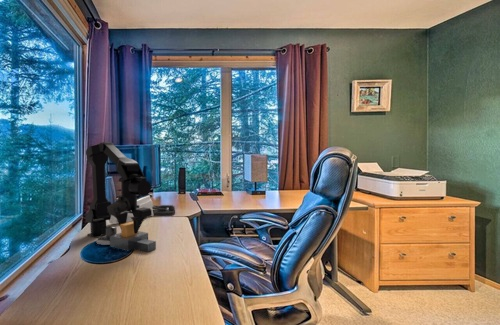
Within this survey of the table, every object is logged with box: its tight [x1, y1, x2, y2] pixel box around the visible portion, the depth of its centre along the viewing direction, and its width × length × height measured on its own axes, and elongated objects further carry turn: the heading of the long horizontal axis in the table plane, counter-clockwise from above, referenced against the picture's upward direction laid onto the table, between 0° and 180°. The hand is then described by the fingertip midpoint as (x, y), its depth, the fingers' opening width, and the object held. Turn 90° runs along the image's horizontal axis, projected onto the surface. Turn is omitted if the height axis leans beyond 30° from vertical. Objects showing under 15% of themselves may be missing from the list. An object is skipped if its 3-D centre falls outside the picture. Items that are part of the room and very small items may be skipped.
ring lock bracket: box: [95, 225, 157, 253], centre depth 114 cm, size 28×11×6 cm, turn 64°
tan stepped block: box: [119, 220, 137, 237], centre depth 113 cm, size 3×6×9 cm, turn 154°
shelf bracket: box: [108, 194, 155, 225], centre depth 153 cm, size 6×25×13 cm, turn 148°
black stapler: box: [152, 204, 176, 217], centre depth 169 cm, size 9×7×25 cm
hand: (129, 232), depth 113 cm, fingers open, 7 cm apart
